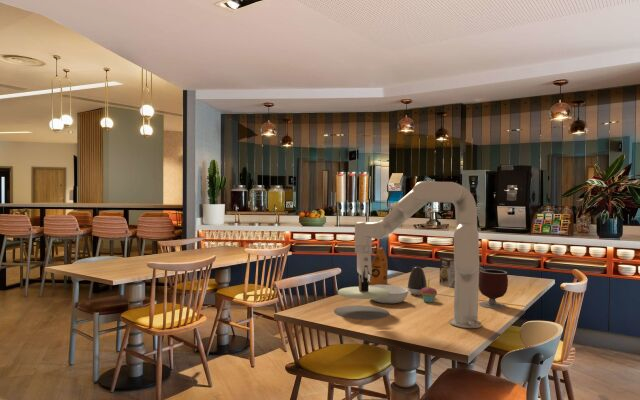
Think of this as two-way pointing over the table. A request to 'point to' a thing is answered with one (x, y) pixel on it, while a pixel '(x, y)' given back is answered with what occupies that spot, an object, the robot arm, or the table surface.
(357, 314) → the mat
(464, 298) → the robot arm
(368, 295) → the lid
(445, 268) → the coffee box
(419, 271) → the smart speaker
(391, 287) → the serving bowl
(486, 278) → the mate gourd
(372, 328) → the table surface
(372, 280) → the coffee package
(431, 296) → the cupcake
